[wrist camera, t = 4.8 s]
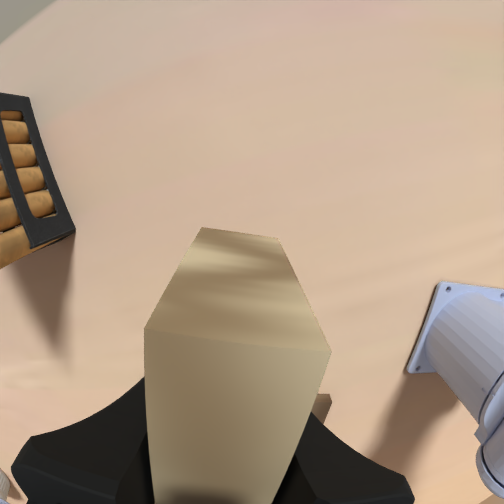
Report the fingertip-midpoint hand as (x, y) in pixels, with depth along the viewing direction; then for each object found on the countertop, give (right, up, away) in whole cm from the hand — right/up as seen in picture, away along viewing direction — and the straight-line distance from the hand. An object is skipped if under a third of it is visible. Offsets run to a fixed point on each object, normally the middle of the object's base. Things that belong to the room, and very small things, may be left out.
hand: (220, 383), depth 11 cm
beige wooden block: (0, +1, +3) cm, 3 cm away
